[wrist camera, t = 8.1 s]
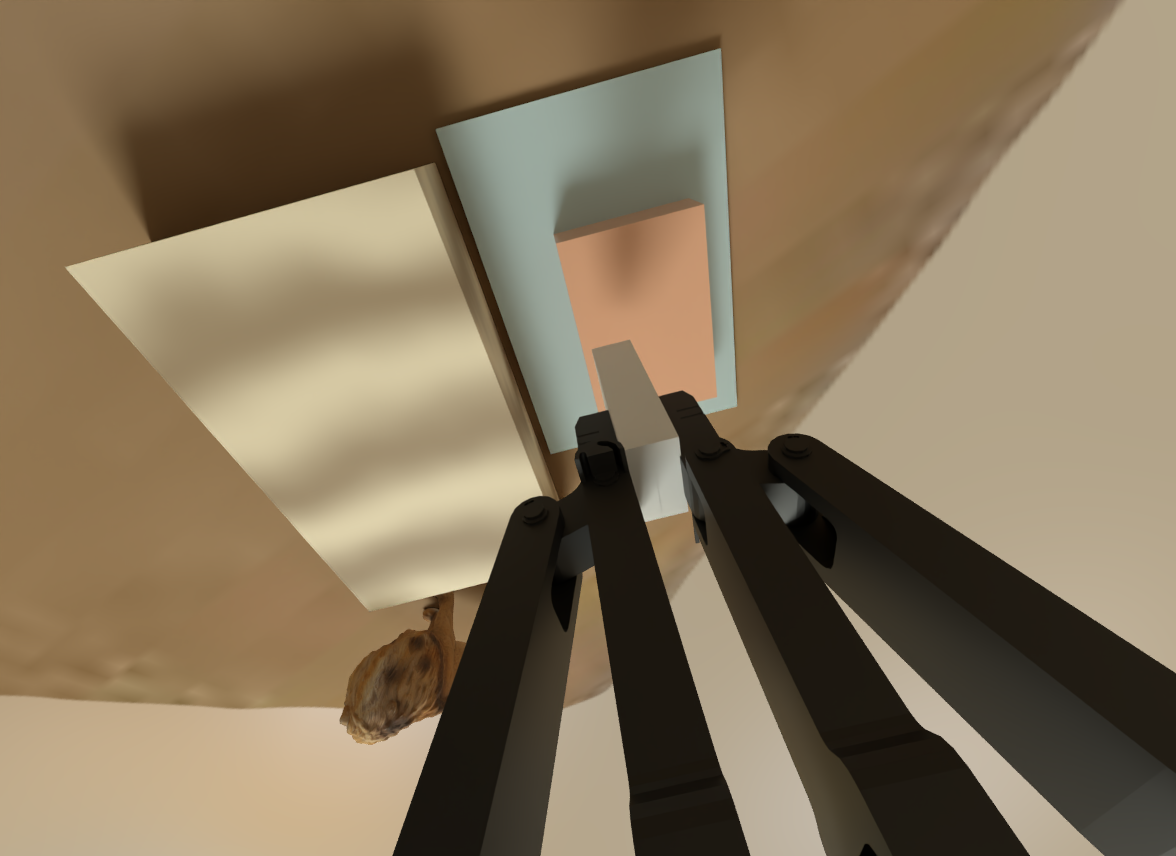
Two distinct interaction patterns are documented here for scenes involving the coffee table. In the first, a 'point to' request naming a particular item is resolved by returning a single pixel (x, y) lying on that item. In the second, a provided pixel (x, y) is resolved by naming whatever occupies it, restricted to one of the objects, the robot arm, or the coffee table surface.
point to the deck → (345, 376)
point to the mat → (591, 210)
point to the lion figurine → (404, 678)
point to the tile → (645, 294)
